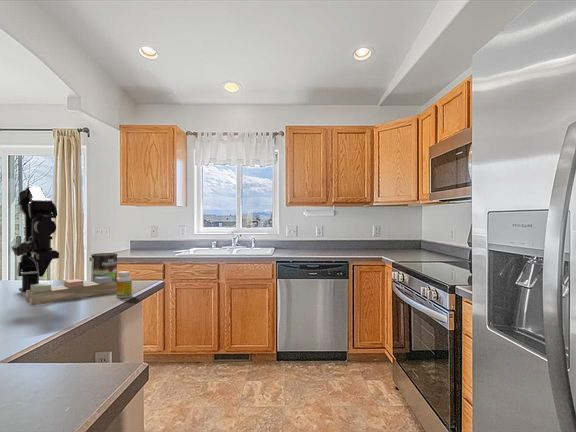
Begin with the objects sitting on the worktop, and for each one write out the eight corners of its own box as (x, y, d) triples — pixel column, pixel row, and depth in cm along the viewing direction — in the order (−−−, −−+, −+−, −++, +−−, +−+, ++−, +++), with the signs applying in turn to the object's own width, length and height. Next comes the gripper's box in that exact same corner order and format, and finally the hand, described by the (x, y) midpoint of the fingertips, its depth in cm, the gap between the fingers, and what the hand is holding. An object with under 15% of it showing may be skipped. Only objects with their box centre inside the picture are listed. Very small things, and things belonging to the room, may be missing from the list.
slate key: (94, 286, 148) (94, 277, 148) (106, 285, 152) (106, 275, 152) (99, 288, 145) (99, 278, 145) (112, 286, 149) (112, 277, 149)
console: (25, 301, 131) (26, 290, 131) (108, 288, 154) (108, 279, 154) (32, 304, 127) (32, 293, 127) (115, 291, 149) (116, 282, 149)
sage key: (30, 295, 131) (30, 284, 131) (46, 293, 135) (46, 282, 135) (34, 298, 128) (34, 286, 128) (50, 295, 132) (51, 284, 132)
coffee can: (121, 285, 161) (122, 254, 161) (99, 289, 152) (99, 256, 152) (108, 282, 167) (108, 252, 166) (85, 286, 158) (86, 254, 158)
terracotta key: (64, 291, 140) (64, 280, 140) (78, 289, 144) (78, 279, 144) (69, 293, 137) (69, 282, 137) (83, 291, 140) (83, 280, 140)
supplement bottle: (125, 298, 138) (125, 273, 138) (113, 297, 139) (113, 272, 139) (134, 295, 143) (134, 271, 143) (122, 294, 144) (122, 270, 144)
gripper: (7, 233, 131) (6, 275, 132) (22, 236, 119) (21, 283, 120) (42, 232, 140) (42, 272, 140) (60, 235, 128) (59, 278, 128)
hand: (40, 276), depth 132 cm, fingers closed
